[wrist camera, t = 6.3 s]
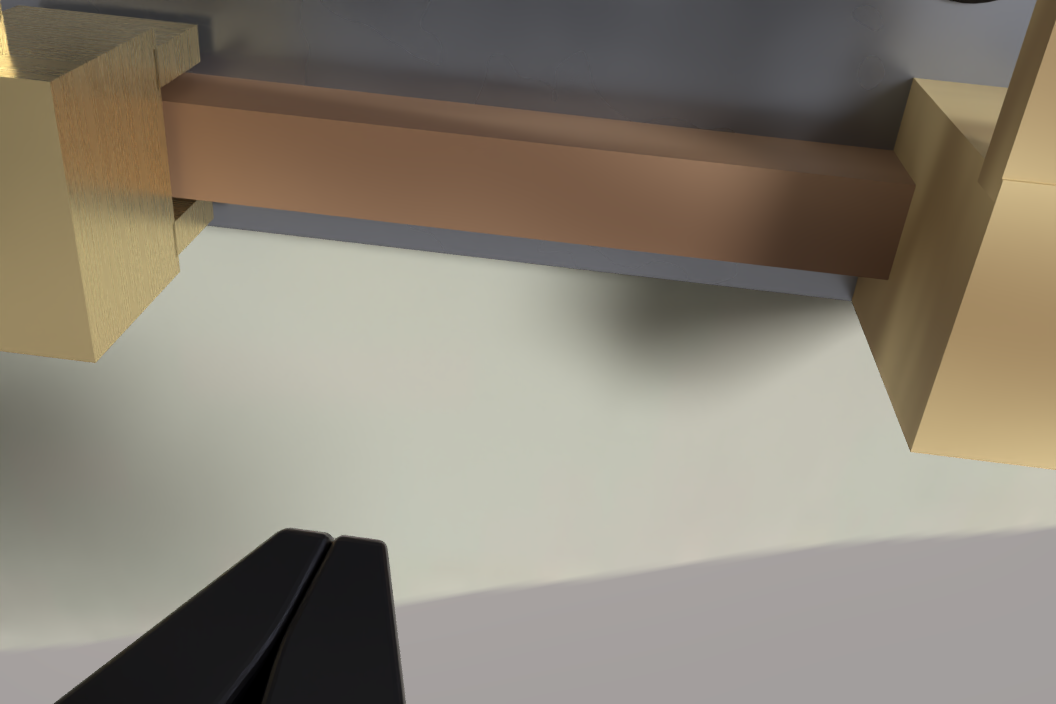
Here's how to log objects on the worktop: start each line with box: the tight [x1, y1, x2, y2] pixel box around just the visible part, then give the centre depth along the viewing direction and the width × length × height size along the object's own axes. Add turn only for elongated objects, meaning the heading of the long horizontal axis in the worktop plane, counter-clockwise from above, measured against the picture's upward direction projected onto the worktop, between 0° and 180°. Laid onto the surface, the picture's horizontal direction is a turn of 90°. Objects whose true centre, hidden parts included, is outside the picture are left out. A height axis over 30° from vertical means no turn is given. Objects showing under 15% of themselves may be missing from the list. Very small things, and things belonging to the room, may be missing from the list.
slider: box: [0, 3, 214, 363], centre depth 14 cm, size 7×3×5 cm, turn 175°
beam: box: [160, 0, 1056, 470], centre depth 15 cm, size 7×25×5 cm, turn 85°
